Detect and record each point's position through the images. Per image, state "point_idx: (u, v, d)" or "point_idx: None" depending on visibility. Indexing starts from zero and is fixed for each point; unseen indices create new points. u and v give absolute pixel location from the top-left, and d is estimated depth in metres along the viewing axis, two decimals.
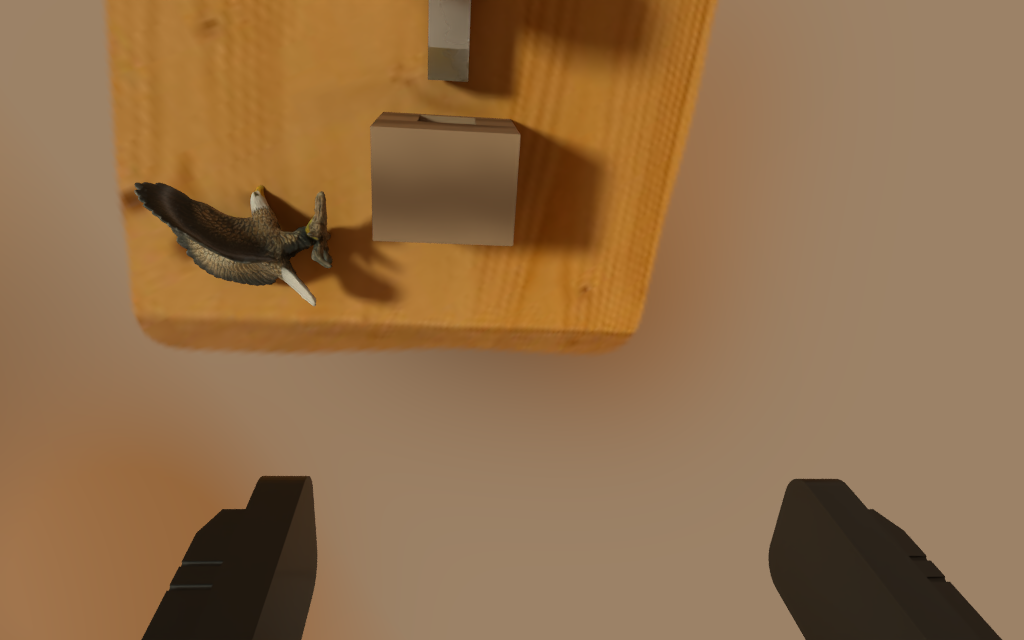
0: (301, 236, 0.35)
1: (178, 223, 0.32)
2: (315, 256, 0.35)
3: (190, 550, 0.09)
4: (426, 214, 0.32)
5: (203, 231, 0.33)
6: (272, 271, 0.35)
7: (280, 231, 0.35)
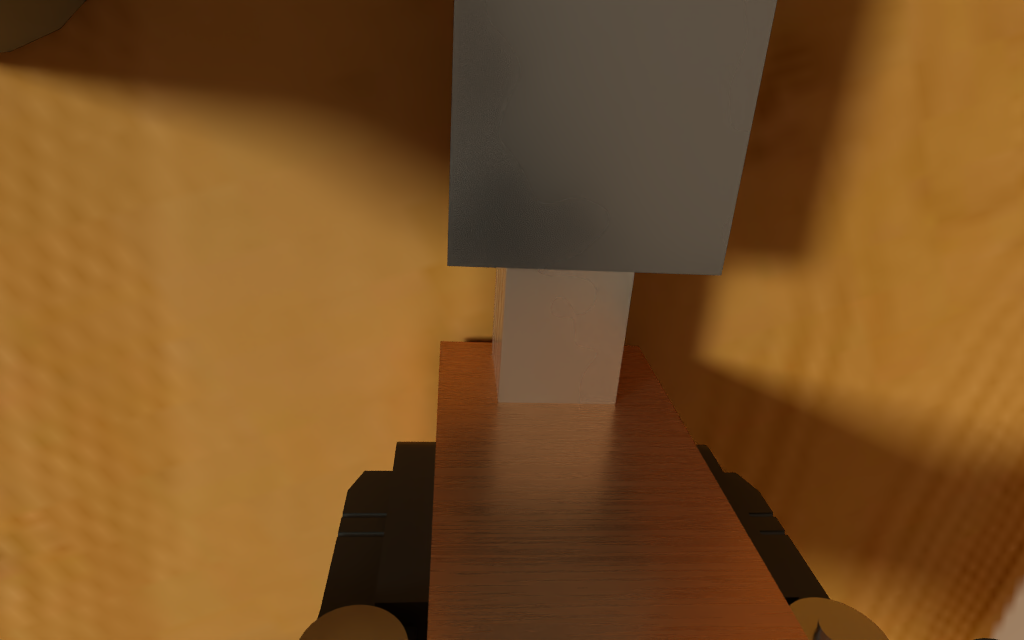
0: None
1: None
2: None
3: (347, 504, 0.10)
4: None
5: None
6: None
7: None
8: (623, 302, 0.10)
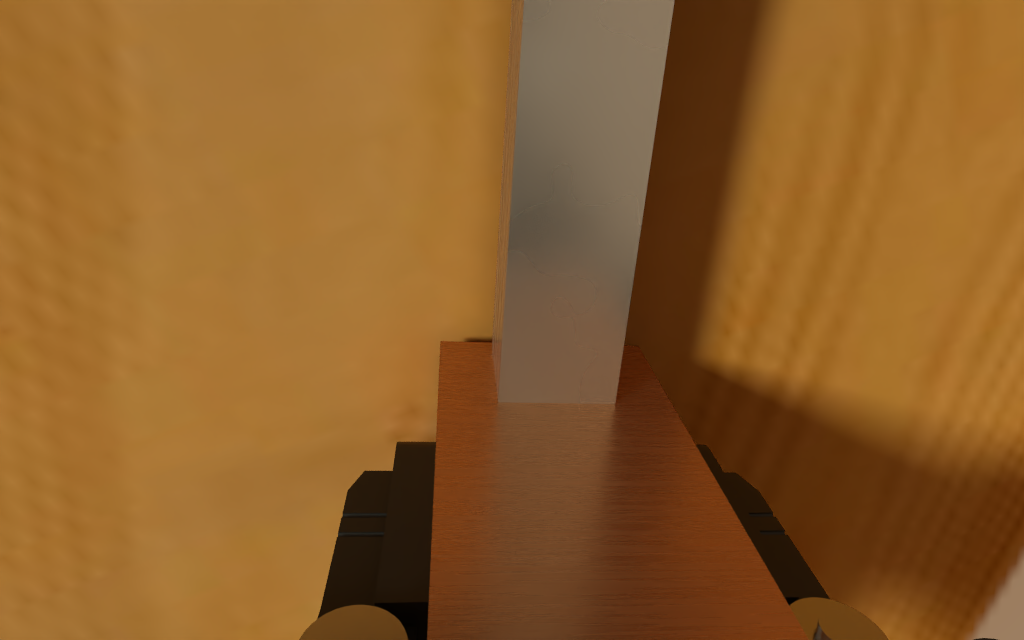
0: None
1: None
2: None
3: (347, 503, 0.10)
4: None
5: None
6: None
7: None
8: (623, 302, 0.10)
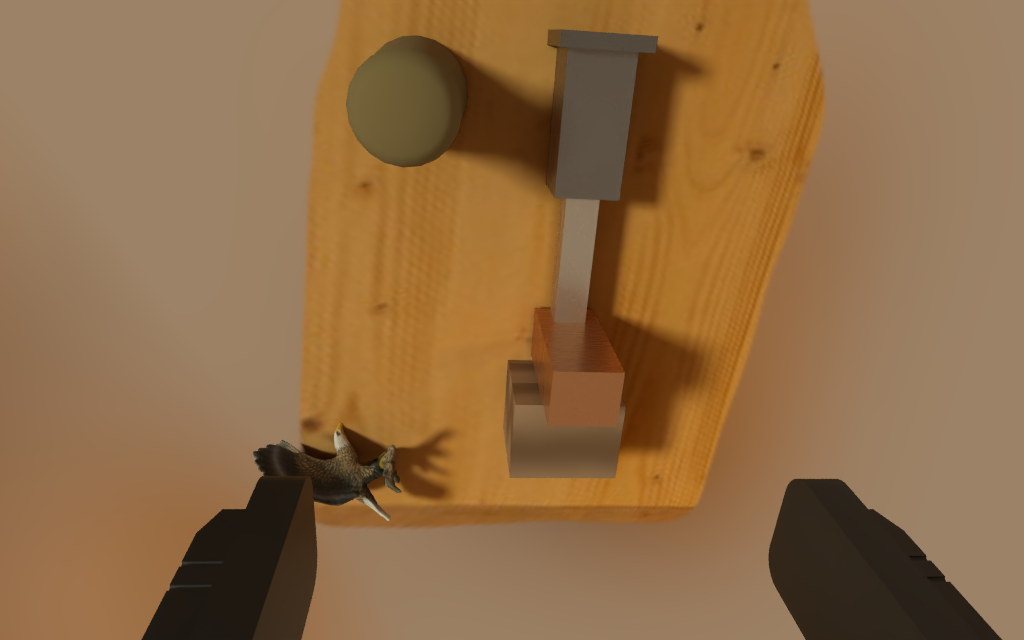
0: (376, 470, 0.45)
1: None
2: (388, 484, 0.45)
3: (191, 549, 0.09)
4: (551, 459, 0.42)
5: None
6: None
7: (360, 466, 0.45)
8: (586, 295, 0.41)
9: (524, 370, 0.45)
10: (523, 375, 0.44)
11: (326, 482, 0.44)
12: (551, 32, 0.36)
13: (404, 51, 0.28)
